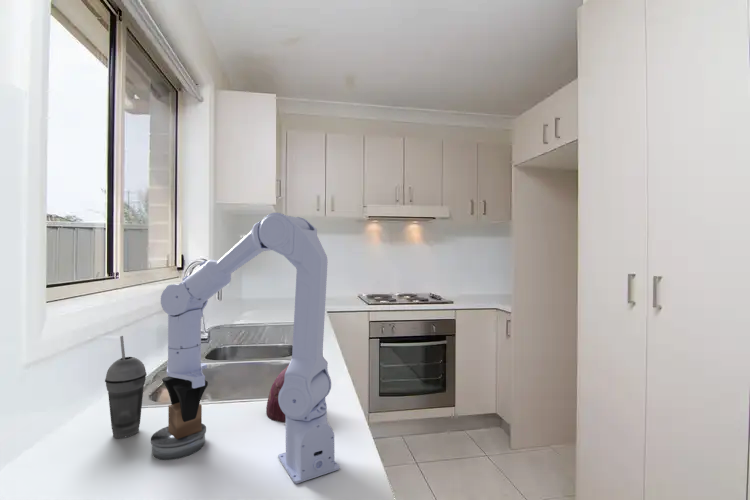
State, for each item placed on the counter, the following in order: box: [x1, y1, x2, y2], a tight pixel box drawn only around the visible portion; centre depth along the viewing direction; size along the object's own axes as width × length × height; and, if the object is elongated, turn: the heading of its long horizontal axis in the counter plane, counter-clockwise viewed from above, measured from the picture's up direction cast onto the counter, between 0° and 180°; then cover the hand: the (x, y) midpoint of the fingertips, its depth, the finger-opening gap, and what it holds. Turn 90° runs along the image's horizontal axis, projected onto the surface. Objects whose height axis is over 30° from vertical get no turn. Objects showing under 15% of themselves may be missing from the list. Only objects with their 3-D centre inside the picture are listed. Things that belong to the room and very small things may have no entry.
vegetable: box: [265, 364, 289, 423], centre depth 88 cm, size 10×10×15 cm
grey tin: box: [150, 423, 207, 461], centre depth 72 cm, size 9×9×3 cm
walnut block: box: [167, 402, 203, 439], centre depth 72 cm, size 4×4×5 cm
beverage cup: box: [104, 335, 147, 439], centre depth 77 cm, size 7×7×20 cm
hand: (184, 415), depth 72 cm, fingers closed on walnut block, 4 cm apart
